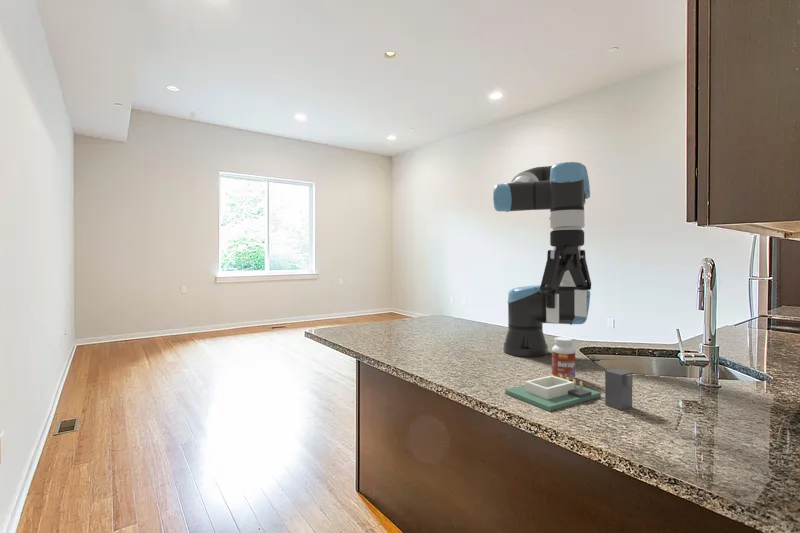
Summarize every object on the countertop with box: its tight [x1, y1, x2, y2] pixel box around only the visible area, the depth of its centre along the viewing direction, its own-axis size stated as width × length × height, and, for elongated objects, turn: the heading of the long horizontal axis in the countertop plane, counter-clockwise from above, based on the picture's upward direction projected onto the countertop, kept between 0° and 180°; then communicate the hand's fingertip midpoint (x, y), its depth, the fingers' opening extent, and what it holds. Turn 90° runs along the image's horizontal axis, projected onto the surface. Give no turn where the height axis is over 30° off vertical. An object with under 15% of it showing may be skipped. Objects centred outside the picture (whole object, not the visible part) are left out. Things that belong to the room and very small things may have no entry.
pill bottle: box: [551, 336, 576, 381], centre depth 121 cm, size 6×6×11 cm
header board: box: [504, 374, 602, 412], centre depth 106 cm, size 18×14×4 cm
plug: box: [604, 367, 634, 411], centre depth 98 cm, size 4×5×8 cm
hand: (567, 319), depth 102 cm, fingers open, 13 cm apart
